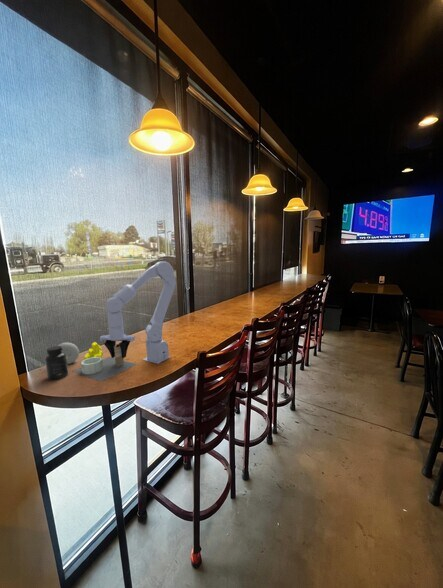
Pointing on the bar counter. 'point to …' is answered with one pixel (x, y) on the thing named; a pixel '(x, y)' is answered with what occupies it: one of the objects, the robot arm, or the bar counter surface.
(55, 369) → the supplement bottle
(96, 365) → the jar
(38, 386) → the bar counter surface
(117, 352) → the peg
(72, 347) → the grey round disc
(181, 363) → the bar counter surface
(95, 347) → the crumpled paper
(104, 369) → the mat
